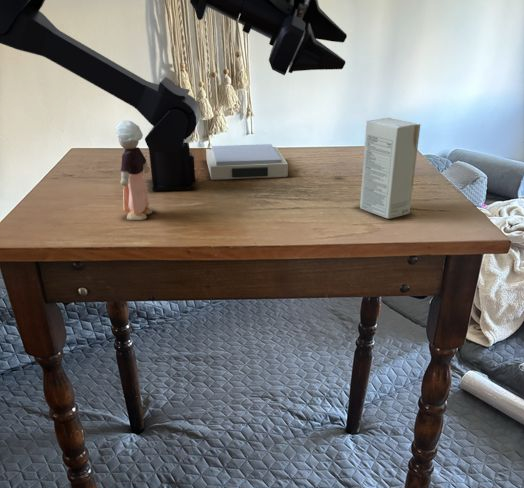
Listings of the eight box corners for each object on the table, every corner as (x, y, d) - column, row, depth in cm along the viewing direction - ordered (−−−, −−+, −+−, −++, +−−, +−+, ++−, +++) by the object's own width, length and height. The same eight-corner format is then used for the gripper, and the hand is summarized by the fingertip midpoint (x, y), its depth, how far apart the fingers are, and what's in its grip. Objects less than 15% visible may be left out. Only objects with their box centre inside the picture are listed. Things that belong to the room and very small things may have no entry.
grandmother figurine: (130, 206, 82) (119, 114, 75) (156, 207, 82) (147, 115, 75) (118, 225, 76) (103, 127, 69) (146, 226, 76) (134, 127, 69)
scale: (211, 180, 93) (210, 163, 92) (206, 161, 104) (205, 145, 102) (288, 177, 95) (288, 160, 93) (275, 158, 105) (276, 143, 104)
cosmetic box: (410, 214, 80) (424, 124, 73) (387, 220, 78) (399, 127, 71) (379, 202, 84) (389, 115, 77) (357, 207, 82) (365, 119, 75)
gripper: (259, -42, 65) (375, 21, 69) (275, -84, 77) (373, -29, 81) (227, 49, 74) (332, 101, 77) (246, -1, 85) (336, 45, 89)
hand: (344, 51), depth 81 cm, fingers open, 9 cm apart
